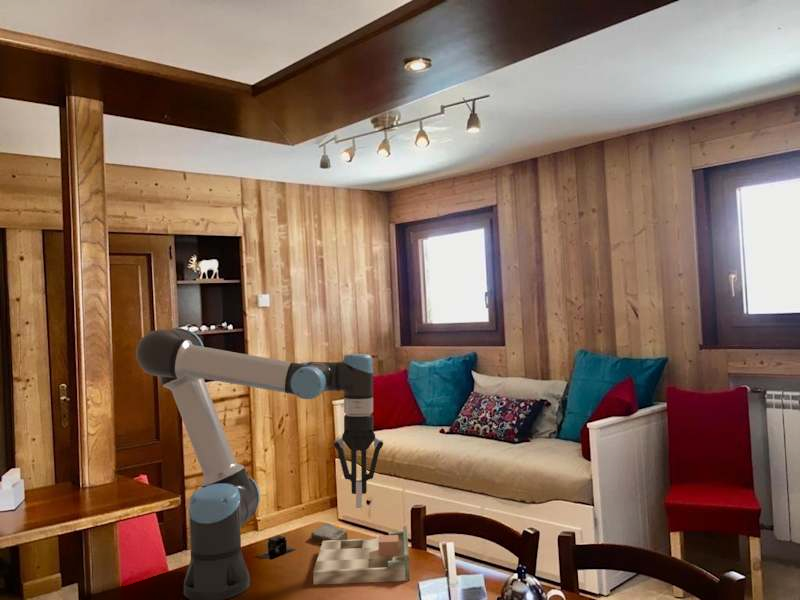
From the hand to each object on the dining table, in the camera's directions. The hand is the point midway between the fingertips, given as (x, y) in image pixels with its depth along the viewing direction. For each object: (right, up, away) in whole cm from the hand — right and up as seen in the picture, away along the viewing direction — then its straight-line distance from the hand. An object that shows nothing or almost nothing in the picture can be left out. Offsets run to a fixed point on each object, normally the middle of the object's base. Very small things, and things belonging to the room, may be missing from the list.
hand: (359, 506), depth 168 cm
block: (+8, -12, 0) cm, 14 cm away
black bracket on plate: (-23, -17, +11) cm, 31 cm away
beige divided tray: (+1, -15, 0) cm, 15 cm away
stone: (-10, -17, +20) cm, 28 cm away
